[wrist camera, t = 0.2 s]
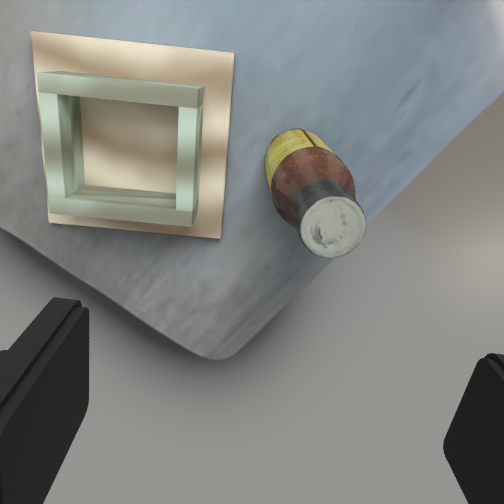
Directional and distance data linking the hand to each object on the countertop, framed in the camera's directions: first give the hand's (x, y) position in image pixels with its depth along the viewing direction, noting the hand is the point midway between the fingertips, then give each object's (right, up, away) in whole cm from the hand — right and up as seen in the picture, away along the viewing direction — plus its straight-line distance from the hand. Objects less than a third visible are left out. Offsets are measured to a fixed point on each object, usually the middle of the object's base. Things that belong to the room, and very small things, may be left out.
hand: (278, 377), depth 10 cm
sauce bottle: (+4, +13, +34) cm, 36 cm away
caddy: (-12, +14, +33) cm, 38 cm away
